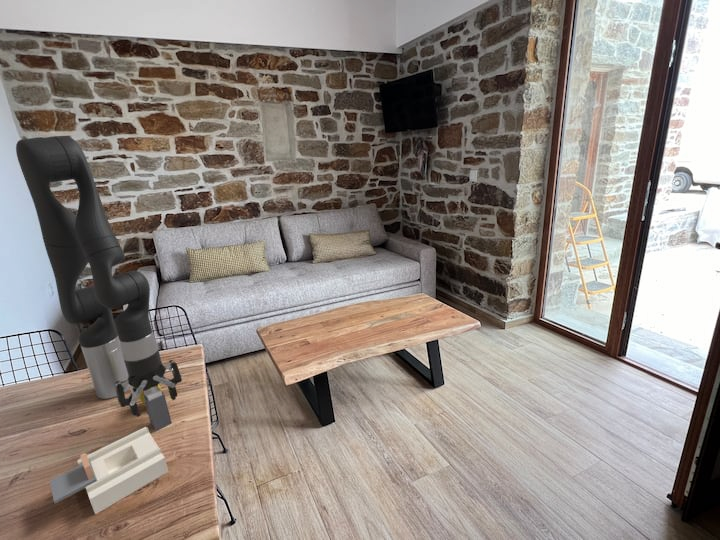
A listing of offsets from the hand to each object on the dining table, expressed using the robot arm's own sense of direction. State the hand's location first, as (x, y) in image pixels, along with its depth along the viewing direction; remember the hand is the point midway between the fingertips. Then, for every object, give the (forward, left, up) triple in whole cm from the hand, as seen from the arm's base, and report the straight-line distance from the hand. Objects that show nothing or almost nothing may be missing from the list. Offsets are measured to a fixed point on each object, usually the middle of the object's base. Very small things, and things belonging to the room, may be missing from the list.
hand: (156, 406), depth 96 cm
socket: (+11, -11, -6) cm, 16 cm away
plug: (0, 0, -6) cm, 6 cm away
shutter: (+11, -19, -1) cm, 22 cm away
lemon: (-10, +1, -6) cm, 12 cm away
